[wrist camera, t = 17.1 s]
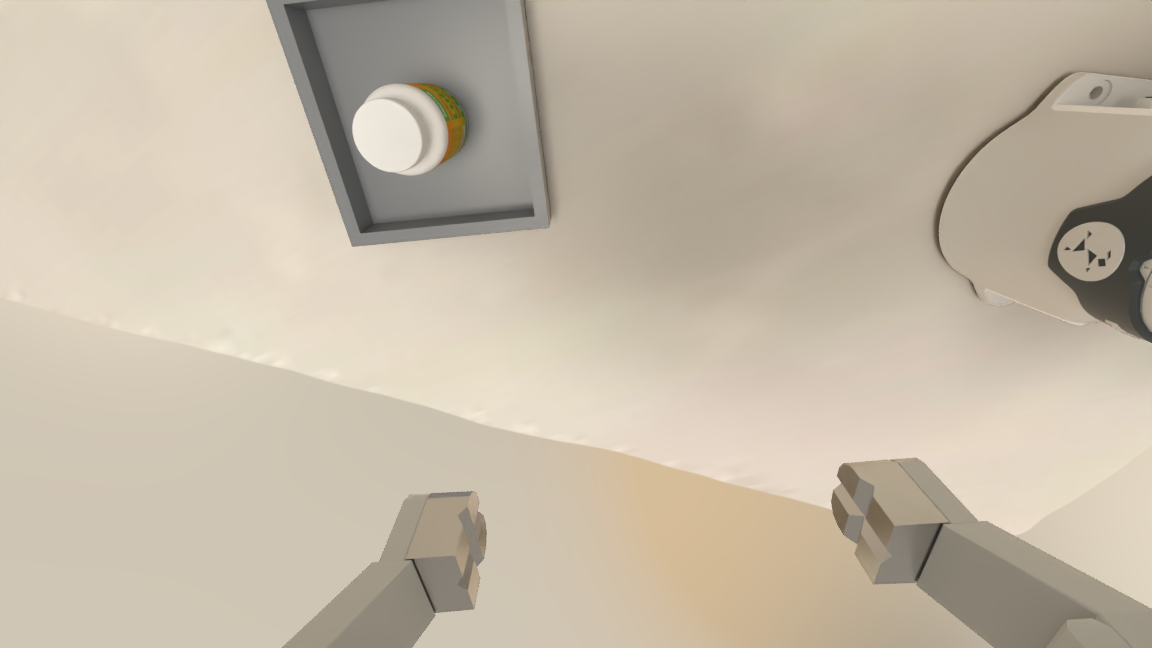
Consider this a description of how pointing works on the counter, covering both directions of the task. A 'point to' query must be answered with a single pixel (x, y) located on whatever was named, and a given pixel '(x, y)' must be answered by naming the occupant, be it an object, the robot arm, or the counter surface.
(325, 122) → the parts tray
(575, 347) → the counter surface
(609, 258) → the counter surface
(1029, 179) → the robot arm
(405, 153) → the supplement bottle
